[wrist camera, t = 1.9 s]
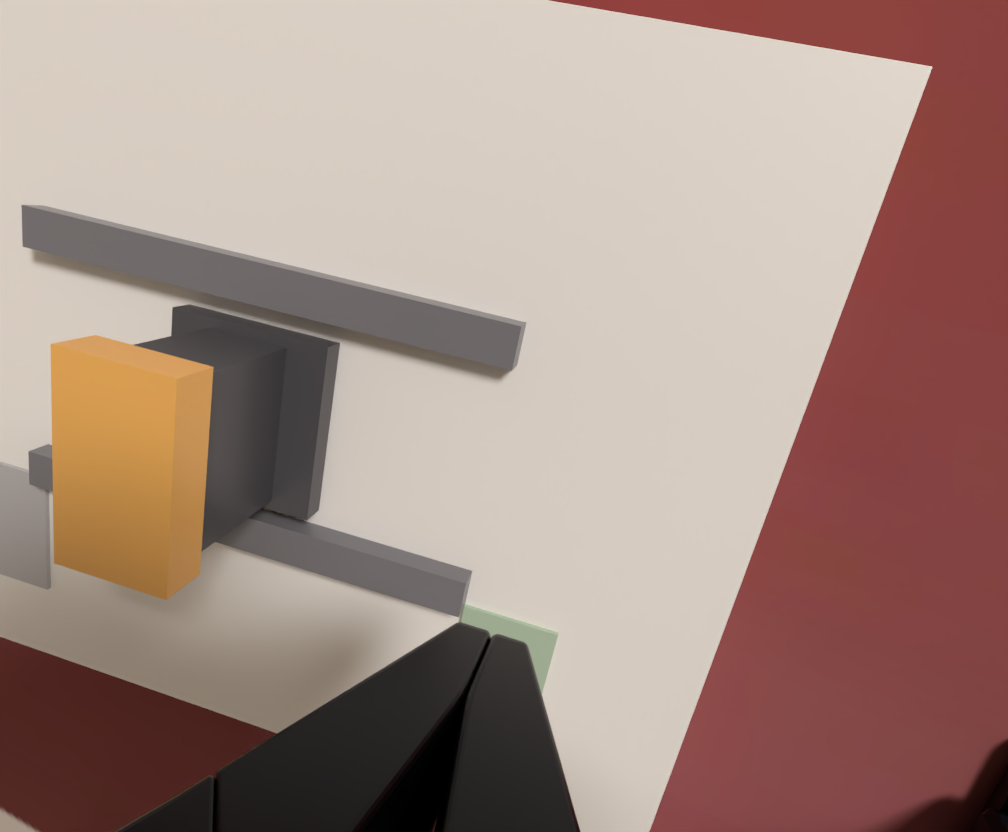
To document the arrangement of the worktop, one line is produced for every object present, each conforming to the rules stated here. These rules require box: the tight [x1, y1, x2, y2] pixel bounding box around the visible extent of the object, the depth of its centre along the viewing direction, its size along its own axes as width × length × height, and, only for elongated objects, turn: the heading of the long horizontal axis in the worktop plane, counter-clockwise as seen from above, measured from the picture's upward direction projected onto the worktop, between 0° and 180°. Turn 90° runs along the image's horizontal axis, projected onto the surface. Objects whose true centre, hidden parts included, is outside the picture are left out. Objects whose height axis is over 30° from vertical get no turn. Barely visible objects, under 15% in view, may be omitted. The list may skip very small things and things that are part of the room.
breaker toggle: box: [51, 304, 340, 600], centre depth 11 cm, size 3×4×4 cm
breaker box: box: [0, 0, 932, 832], centre depth 14 cm, size 20×16×4 cm
